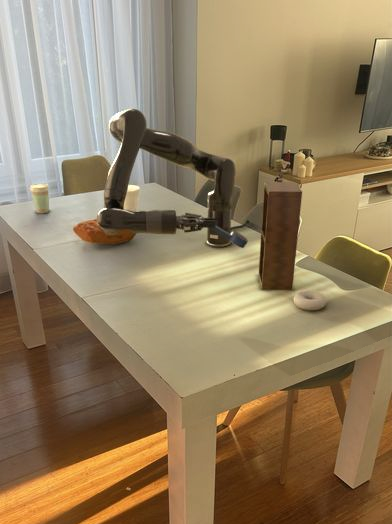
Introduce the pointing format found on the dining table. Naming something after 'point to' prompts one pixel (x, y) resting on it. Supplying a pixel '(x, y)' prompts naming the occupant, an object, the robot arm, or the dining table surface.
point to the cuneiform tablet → (100, 233)
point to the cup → (131, 198)
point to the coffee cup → (40, 197)
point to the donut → (309, 300)
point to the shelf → (279, 235)
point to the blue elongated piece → (231, 236)
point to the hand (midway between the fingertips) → (215, 222)
